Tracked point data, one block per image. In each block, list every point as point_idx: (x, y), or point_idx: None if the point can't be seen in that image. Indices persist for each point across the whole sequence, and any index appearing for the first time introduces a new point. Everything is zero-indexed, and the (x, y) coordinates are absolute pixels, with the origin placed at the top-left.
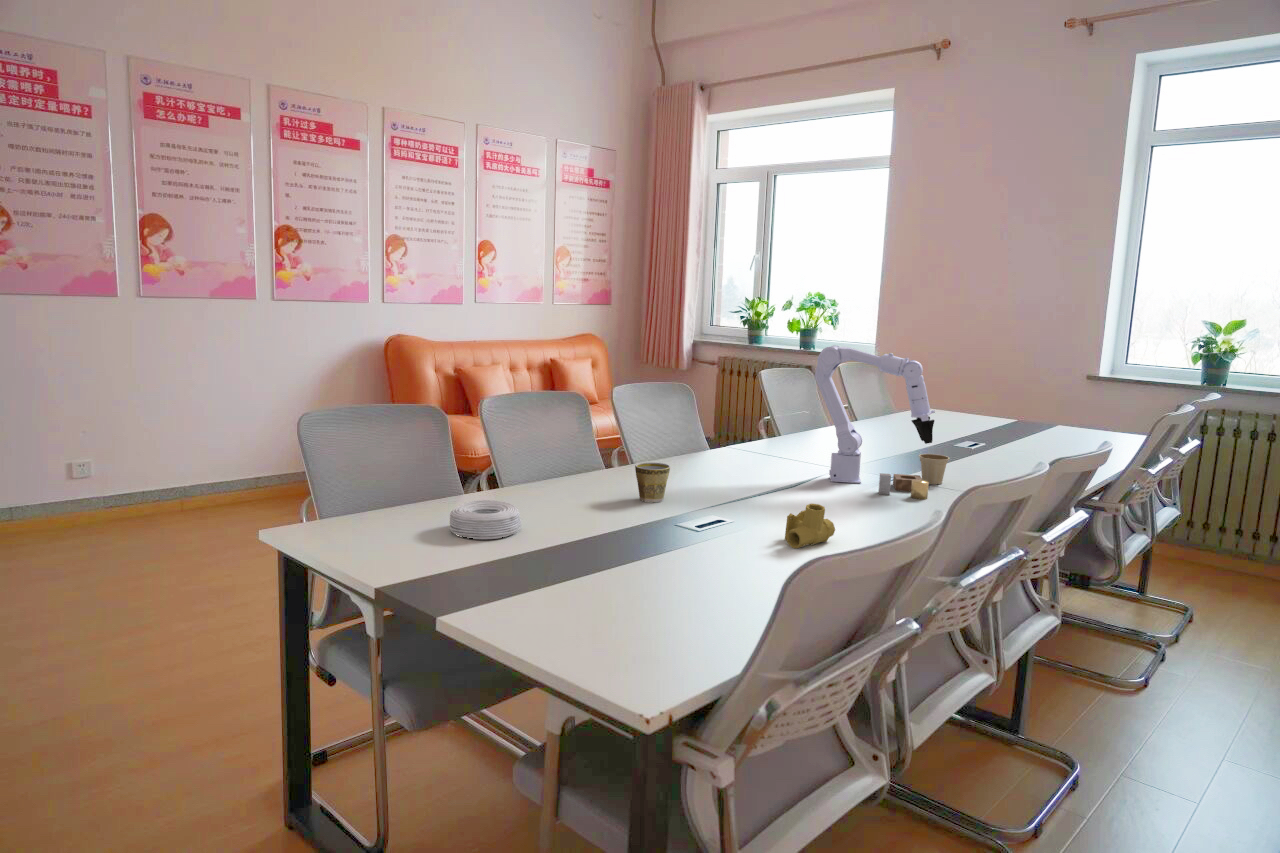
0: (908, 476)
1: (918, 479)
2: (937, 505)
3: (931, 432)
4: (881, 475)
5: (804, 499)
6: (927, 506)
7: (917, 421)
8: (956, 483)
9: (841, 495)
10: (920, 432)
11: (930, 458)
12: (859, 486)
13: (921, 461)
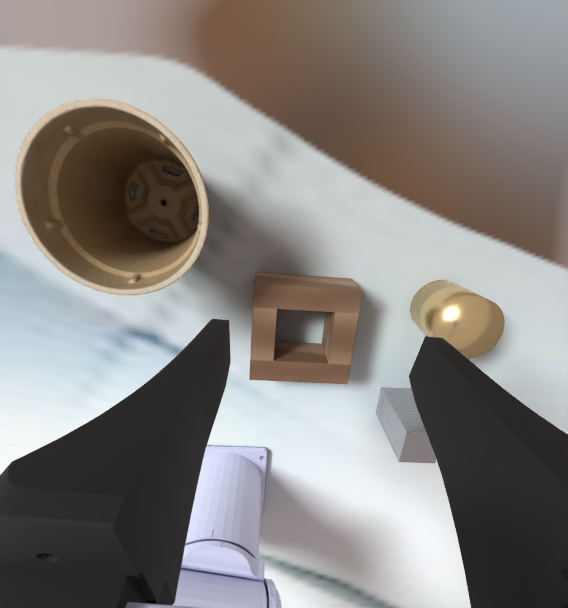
0: (275, 330)
1: (337, 304)
2: (546, 268)
3: (514, 407)
4: (435, 460)
5: None
6: (556, 303)
7: (168, 566)
8: (144, 81)
9: (422, 499)
10: (208, 421)
11: (48, 208)
12: (302, 452)
13: (155, 277)
